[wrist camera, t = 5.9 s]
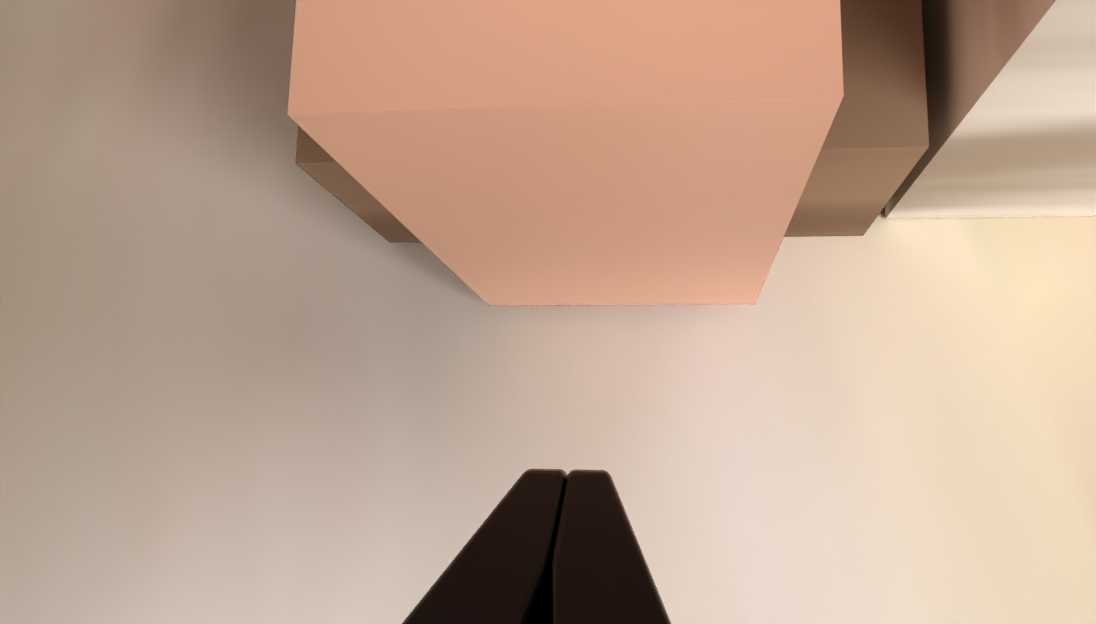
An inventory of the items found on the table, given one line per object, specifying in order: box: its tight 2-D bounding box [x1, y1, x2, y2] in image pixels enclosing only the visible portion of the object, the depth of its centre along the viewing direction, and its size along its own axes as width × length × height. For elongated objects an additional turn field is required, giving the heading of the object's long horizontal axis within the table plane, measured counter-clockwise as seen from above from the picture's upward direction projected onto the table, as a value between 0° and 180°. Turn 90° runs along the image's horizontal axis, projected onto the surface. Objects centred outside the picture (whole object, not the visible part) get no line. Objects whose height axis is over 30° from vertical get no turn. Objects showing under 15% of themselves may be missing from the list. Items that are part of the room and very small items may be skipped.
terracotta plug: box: [287, 0, 844, 305], centre depth 13 cm, size 5×5×9 cm
